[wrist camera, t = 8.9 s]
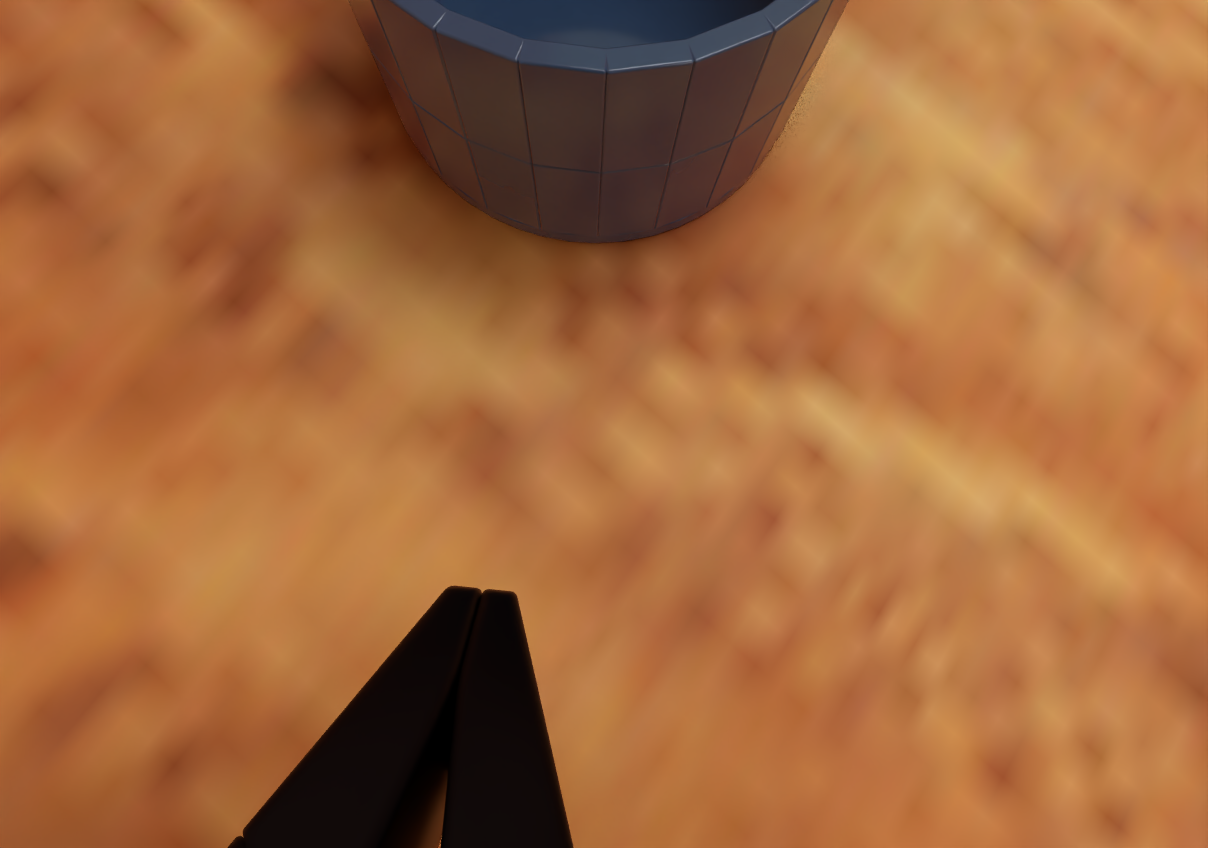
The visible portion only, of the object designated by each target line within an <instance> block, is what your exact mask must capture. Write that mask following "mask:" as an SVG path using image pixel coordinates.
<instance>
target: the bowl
mask: <svg viewBox="0 0 1208 848" xmlns="http://www.w3.org/2000/svg"><path fill="white" fill-rule="evenodd" d="M348 1H349V4H350V6H351V8H352V10H353V13H354V15H355V17H356V19H357V22H358V24H359V26H360V28H361V30H362V33H363V35H364V37H365V39H366V42H367V44H368V46H369V48H370V51H371V53H372V55H373V57H374V60H375V62H376V64H377V66H378V69H379V71H380V73H381V75H382V78H383V80H384V82H385V84H386V87H387V89H388V91H389V93H390V96H391V98H392V100H393V102H394V104H395V107H396V109H397V111H398V113H399V116H400V118H401V120H402V122H403V125H404V127H405V129H406V131H407V133H408V135H409V136H410V137H411V139H412V141H413V143H414V145H415V146H416V147H417V149H418V150H419V152H420V153H421V155H422V156H423V157H424V159H425V160H426V162H427V163H428V165H429V166H430V167H431V168H432V169H433V170H434V171H435V172H436V173H437V174H438V175H439V177H440V178H441V179H442V180H443V181H444V182H445V183H446V184H447V185H448V186H449V187H450V188H452V189H453V190H454V191H455V192H456V193H458V194H459V195H460V196H461V197H462V198H464V199H465V200H466V201H467V202H469V203H470V204H472V205H473V206H475V207H477V208H478V209H480V210H481V211H483V212H485V213H486V214H488V215H489V216H491V217H493V218H495V219H497V220H500V221H502V222H504V223H506V224H508V225H510V226H513V227H515V228H517V229H520V230H524V231H527V232H530V233H533V234H536V235H539V236H543V237H548V238H554V239H559V240H565V241H571V242H588V243H605V242H619V241H628V240H633V239H638V238H643V237H648V236H653V235H656V234H659V233H662V232H665V231H668V230H671V229H674V228H677V227H679V226H681V225H683V224H685V223H687V222H690V221H692V220H694V219H696V218H698V217H700V216H702V215H703V214H705V213H707V212H708V211H710V210H711V209H713V208H714V207H716V206H717V205H719V204H720V203H722V202H723V201H725V200H726V199H727V198H728V197H729V196H730V195H731V194H733V193H734V192H735V191H736V190H737V189H738V188H739V187H741V186H742V185H743V184H744V183H745V182H746V181H747V180H748V178H749V177H750V176H751V175H752V174H753V173H754V172H755V170H756V169H757V168H758V167H759V166H760V165H761V163H762V162H763V160H764V159H765V157H766V156H767V154H768V152H769V151H770V149H771V148H772V146H773V145H774V143H775V141H776V140H777V139H778V137H779V136H780V135H781V133H782V131H783V129H784V127H785V125H786V123H787V121H788V119H789V117H790V115H791V113H792V111H793V109H794V107H795V106H796V104H797V102H798V100H799V98H800V96H801V94H802V92H803V90H804V88H805V86H806V84H807V82H808V80H809V78H810V76H811V74H812V72H813V70H814V68H815V66H816V64H817V62H818V60H819V58H820V56H821V54H822V52H823V50H824V48H825V46H826V44H827V42H828V40H829V38H830V36H831V34H832V32H833V30H834V28H835V27H836V25H837V23H838V21H839V19H840V17H841V15H842V13H843V11H844V9H845V7H846V5H847V3H848V1H849V0H348Z"/></svg>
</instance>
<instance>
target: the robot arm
mask: <svg viewBox="0 0 1208 848" xmlns="http://www.w3.org/2000/svg"><path fill="white" fill-rule="evenodd" d="M441 836H442V839H441ZM440 839H441V848H574V847H573V843H572V839H571V834H570V830H569V825H568V821H567V816H566V812H565V807H564V803H563V798H562V794H561V790H560V785H559V781H558V776H557V772H556V767H555V763H554V758H553V754H552V749H551V745H550V741H549V736H548V732H547V727H546V723H545V718H544V714H543V709H542V705H541V700H540V696H539V692H538V687H537V683H536V678H535V674H534V669H533V665H532V660H531V656H530V651H529V647H528V643H527V638H526V634H525V629H524V625H523V620H522V616H521V611H520V607H519V603H518V598H517V596H516V594H515V593H514V592H512V591H502V590H492V589H487V590H485V591H484V592H483V593H482V592H481V590H480V589H478V588H472V587H462V586H450V587H448V588H447V589H445V590H444V592H443V593H442V594H441V595H440V596H439V597H438V599H437V600H436V601H435V602H434V603H433V604H432V606H431V607H430V608H429V609H428V610H427V612H426V613H425V614H424V615H423V616H422V618H421V619H420V620H419V621H418V622H417V623H416V625H415V626H414V627H413V628H412V629H411V631H410V632H409V633H408V634H407V635H406V637H405V638H404V639H403V640H402V641H401V642H400V644H399V645H398V646H397V647H396V648H395V650H394V651H393V652H392V653H391V654H390V656H389V657H388V658H387V659H386V660H385V662H384V663H383V664H382V665H381V666H380V667H379V669H378V670H377V671H376V672H375V673H374V675H373V676H372V677H371V678H370V679H369V681H368V682H367V683H366V684H365V685H364V686H363V688H362V689H361V690H360V691H359V692H358V694H357V695H356V696H355V697H354V698H353V700H352V701H351V702H350V703H349V704H348V705H347V707H346V708H345V709H344V710H343V711H342V713H341V714H340V715H339V716H338V717H337V719H336V720H335V721H334V722H333V723H332V724H331V726H330V727H329V728H328V729H327V730H326V732H325V733H324V734H323V735H322V736H321V738H320V739H319V740H318V741H317V742H316V743H315V745H314V746H313V747H312V748H311V749H310V751H309V752H308V753H307V754H306V755H305V757H304V758H303V759H302V760H301V761H300V762H299V764H298V765H297V766H296V767H295V768H294V770H293V771H292V772H291V773H290V774H289V776H288V777H287V778H286V779H285V780H284V781H283V783H282V784H281V785H280V786H279V787H278V789H277V790H276V791H275V792H274V793H273V795H272V796H271V797H270V798H269V799H268V800H267V802H266V803H265V804H264V805H263V806H262V808H261V809H260V810H259V811H258V812H257V814H256V815H255V816H254V817H253V818H252V819H251V821H250V822H249V823H248V824H247V825H246V827H245V828H244V830H243V837H242V836H238V837H236V838H235V839H234V840H233V842H232V843H231V844H230V845H229V846H228V848H438V846H439V842H440Z"/></svg>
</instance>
